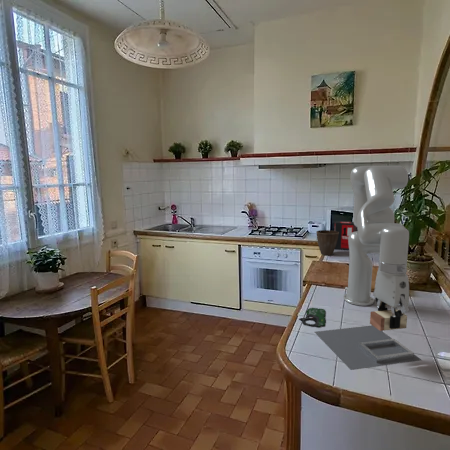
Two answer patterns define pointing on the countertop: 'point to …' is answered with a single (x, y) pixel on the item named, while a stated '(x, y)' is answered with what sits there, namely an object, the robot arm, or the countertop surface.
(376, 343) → the metal frame
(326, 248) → the plant pot
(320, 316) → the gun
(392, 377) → the countertop surface
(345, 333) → the rubber mat
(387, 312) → the maple block
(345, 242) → the cleaning product box
